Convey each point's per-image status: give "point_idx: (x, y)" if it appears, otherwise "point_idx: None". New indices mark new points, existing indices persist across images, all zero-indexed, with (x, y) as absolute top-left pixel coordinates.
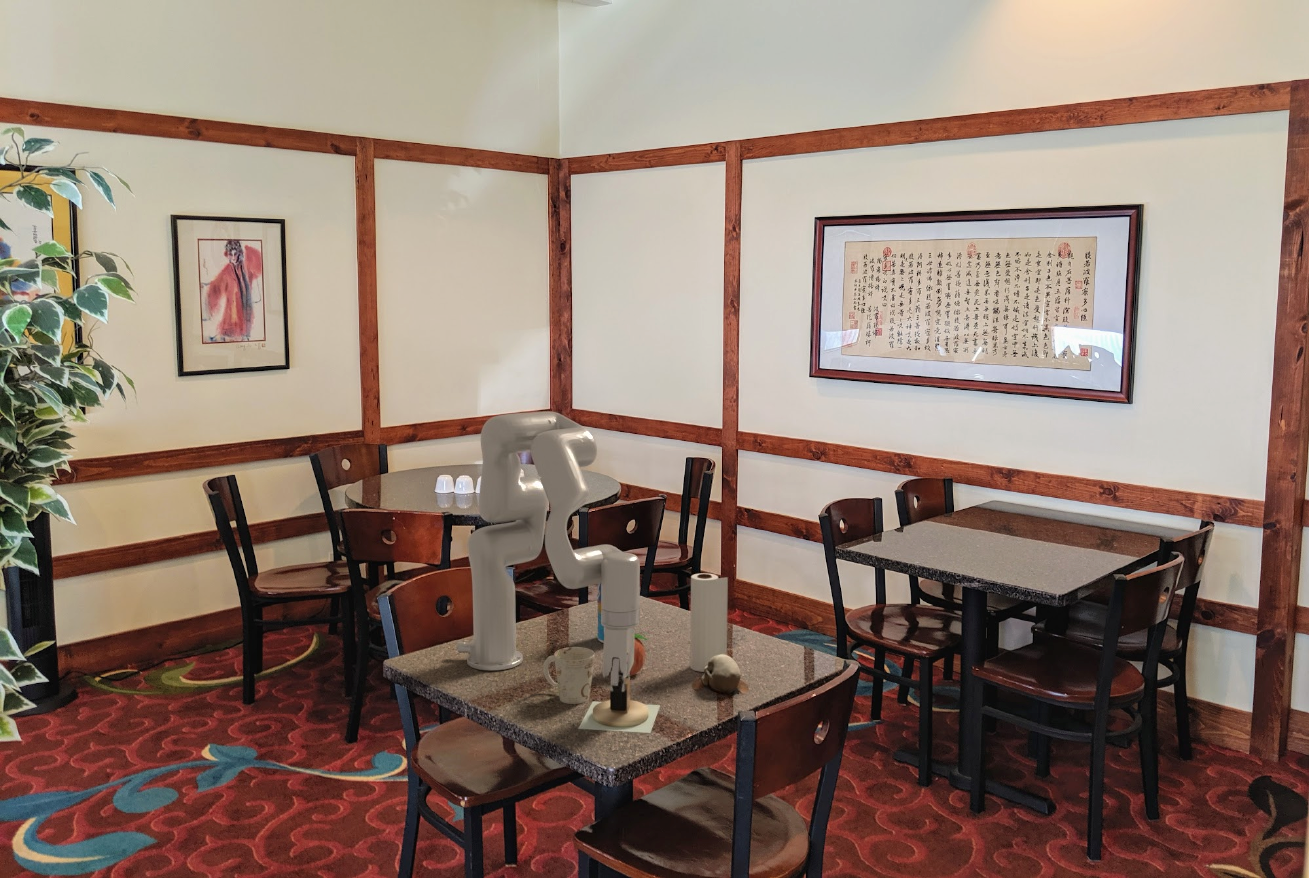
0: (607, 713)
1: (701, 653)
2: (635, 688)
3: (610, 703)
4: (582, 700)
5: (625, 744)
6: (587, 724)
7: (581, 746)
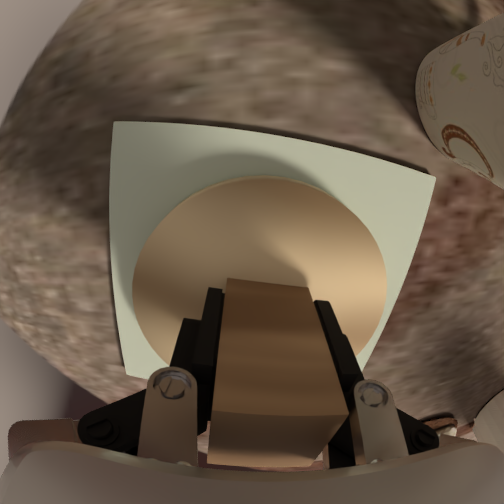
0: (212, 260)
1: (497, 432)
2: (488, 313)
3: (205, 305)
4: (432, 131)
5: (50, 303)
6: (158, 156)
7: (8, 168)
